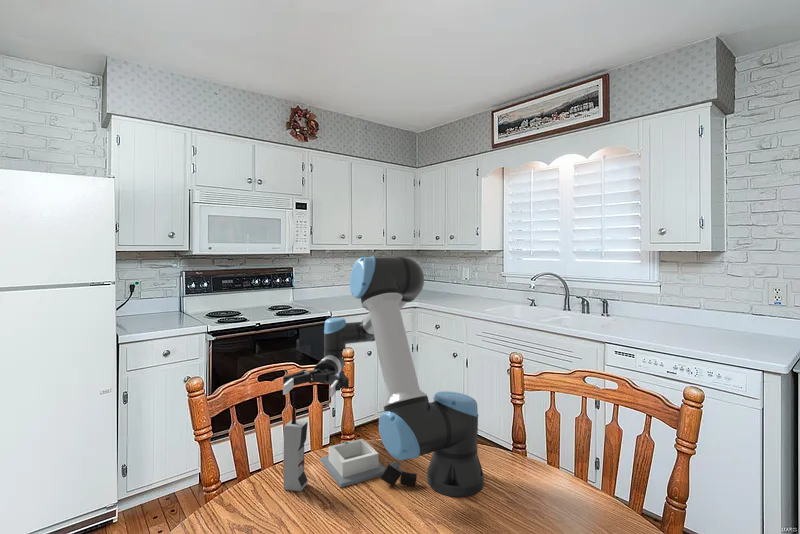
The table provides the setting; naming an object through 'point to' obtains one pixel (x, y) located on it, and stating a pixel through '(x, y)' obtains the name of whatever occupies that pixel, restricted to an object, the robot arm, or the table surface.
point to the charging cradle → (352, 462)
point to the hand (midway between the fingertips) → (307, 391)
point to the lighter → (398, 475)
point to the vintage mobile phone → (294, 453)
